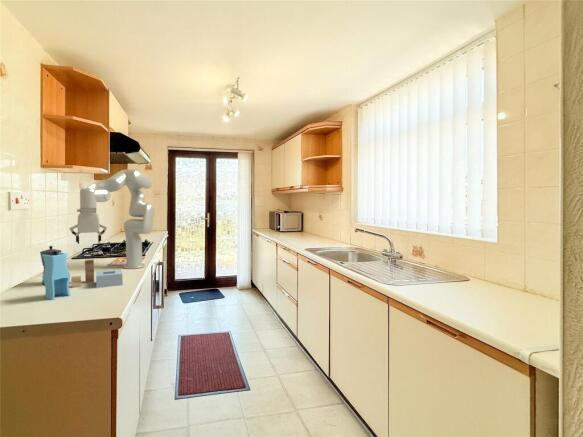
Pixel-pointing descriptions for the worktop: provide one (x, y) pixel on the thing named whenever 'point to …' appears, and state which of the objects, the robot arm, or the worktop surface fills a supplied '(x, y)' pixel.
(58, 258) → the blue hollow-base tower
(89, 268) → the walnut peg long
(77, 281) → the oak peg short
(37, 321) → the worktop surface
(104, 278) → the socket block
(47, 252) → the moka pot
